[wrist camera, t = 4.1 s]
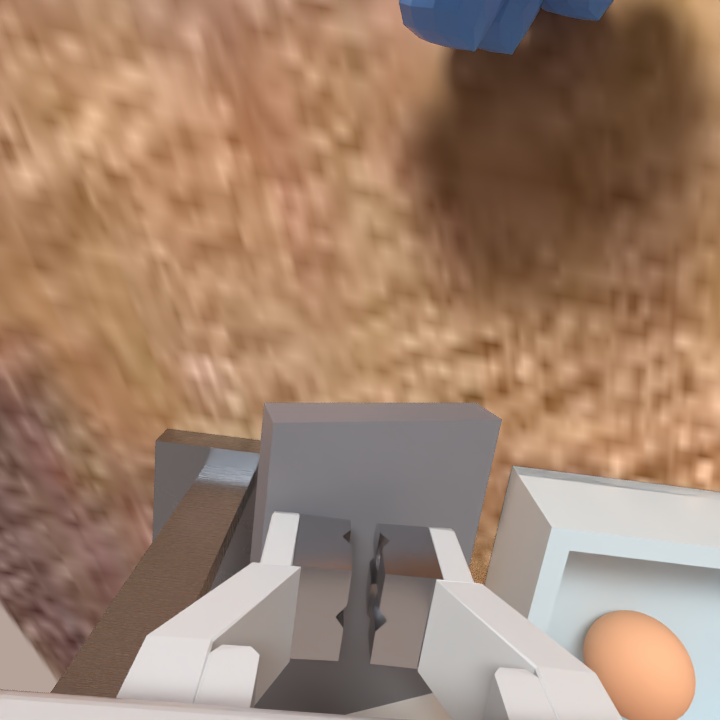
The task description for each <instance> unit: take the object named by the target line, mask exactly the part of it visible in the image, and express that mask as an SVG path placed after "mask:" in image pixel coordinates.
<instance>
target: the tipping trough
mask: <svg viewBox="0 0 720 720" xmlns="http://www.w3.org/2000/svg"><path fill="white" fill-rule="evenodd" d="M501 421H502V419H500V418H499V417H497V416H496V415H494V414H493V413H491V412H489V411H488V410H486V409H485V408H483V407H482V406H480V405H479V404H477V403H264V410H263V421H262V433H261V444H260V455H259V467H258V478H257V489H256V500H255V512H254V523H253V534H252V545H251V557H250V564H251V563H252V562H255V563H260V561H261V557H262V553H263V549H264V545H265V541H266V537H267V533H268V529H269V525H270V521H271V517H272V514H273V513H274V511H280V512H292V513H299V515H300V514H307V515H316V516H324V517H332V518H340V519H349V520H350V521H351V534H350V541H349V543H350V544H351V545H352V574H351V581H350V588H349V595H348V602H347V606H346V607H345V608H344V623H343V635H342V641H341V647H340V653H339V659H338V661H328V660H308V659H290V662H289V663H288V664H287V665H286V667H285V668H284V669H283V670H282V672H281V673H280V674H279V675H278V677H277V678H276V679H275V680H274V682H273V683H272V684H271V685H270V687H269V688H268V689H267V691H266V692H265V693H264V694H263V696H262V697H261V698H260V699H259V701H258V702H257V703H256V704H255V706H254V708H259V709H272V710H286V711H299V712H313V713H326V714H340V715H353V716H366V717H380V718H393V719H407V720H452V719H451V717H450V716H449V715H448V713H447V712H446V710H445V709H444V708H443V706H442V705H441V703H440V702H439V701H438V699H437V698H436V696H435V695H434V694H433V692H432V691H431V689H430V688H429V687H428V685H427V684H426V682H425V681H424V680H423V678H422V677H421V675H420V674H419V673H418V669H414V668H405V667H396V666H387V665H378V664H370V655H369V641H368V629H369V623H370V617H369V616H368V615H367V610H366V588H367V577H368V570H369V563H370V561H371V560H372V559H373V558H374V550H373V538H374V532H375V528H376V524H377V523H381V524H394V525H408V526H421V527H438V528H451V529H452V530H454V531H455V534H456V537H457V539H458V542H459V544H460V547H461V549H462V552H463V555H464V557H465V560H466V562H467V565H468V568H469V565H470V561H471V556H472V552H473V547H474V543H475V538H476V533H477V529H478V524H479V520H480V515H481V511H482V506H483V502H484V497H485V493H486V488H487V484H488V479H489V475H490V470H491V466H492V461H493V457H494V452H495V448H496V443H497V439H498V434H499V430H500V425H501ZM299 520H300V518H299Z"/></svg>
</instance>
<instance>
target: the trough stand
mask: <svg viewBox="0 0 720 720" xmlns="http://www.w3.org/2000/svg"><path fill="white" fill-rule="evenodd" d="M260 444H261V441H260V440H252V439H244V438H236V437H228V436H220V435H212V434H204V433H196V432H188V431H180V430H172V429H167V430H166V431H165V432H164V433H163V434H162V435H161V436H160V437H159V438H158V439H157V440H156V446H155V480H154V514H153V543H152V544H151V545H150V547H149V548H148V550H147V551H146V553H145V554H144V556H143V557H142V559H141V560H140V562H139V563H138V565H137V566H136V568H135V569H134V571H133V572H132V573H131V575H130V576H129V578H128V579H127V581H126V582H125V584H124V585H123V587H122V588H121V590H120V591H119V593H118V594H117V596H116V597H115V598H114V600H113V601H112V603H111V604H110V606H109V607H108V609H107V610H106V612H105V613H104V615H103V616H102V618H101V619H100V621H99V622H98V624H97V625H96V626H95V628H94V629H93V631H92V632H91V634H90V635H89V637H88V638H87V640H86V641H85V643H84V644H83V646H82V647H81V649H80V650H79V651H78V653H77V654H76V656H75V657H74V659H73V660H72V662H71V663H70V665H69V666H68V668H67V669H66V671H65V672H64V674H63V675H62V677H61V678H60V679H59V681H58V682H57V684H56V685H55V687H54V688H53V690H52V691H51V693H57V694H70V695H83V696H97V697H110V698H116V697H117V695H118V693H119V691H120V689H121V687H122V684H123V682H124V680H125V678H126V676H127V674H128V672H129V670H130V668H131V666H132V664H133V662H134V660H135V658H136V656H137V654H138V652H139V650H140V648H141V646H142V644H143V642H144V640H145V638H146V636H147V635H148V634H150V633H151V632H153V631H154V630H155V629H157V628H158V627H160V626H161V625H163V624H164V623H165V622H167V621H168V620H170V619H171V618H173V617H174V616H176V615H177V614H178V613H180V612H181V611H183V610H184V609H186V608H187V607H189V606H190V605H191V604H193V603H194V602H196V601H197V600H199V599H200V598H202V597H203V596H204V595H206V594H207V593H209V592H210V591H212V590H213V589H215V588H216V587H217V586H219V585H220V584H222V583H223V582H225V581H226V580H228V579H229V578H230V577H232V576H233V575H235V574H236V573H238V572H239V571H241V570H242V569H243V568H245V567H246V566H248V565H249V564H250V557H251V545H252V534H253V523H254V512H255V500H256V489H257V478H258V467H259V455H260Z"/></svg>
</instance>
